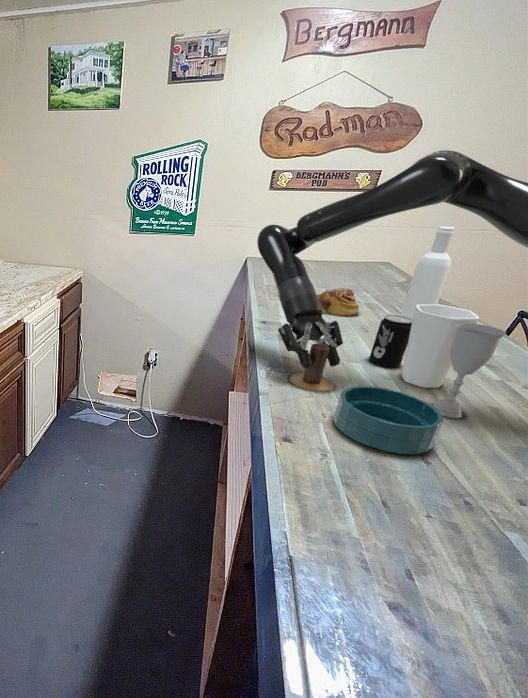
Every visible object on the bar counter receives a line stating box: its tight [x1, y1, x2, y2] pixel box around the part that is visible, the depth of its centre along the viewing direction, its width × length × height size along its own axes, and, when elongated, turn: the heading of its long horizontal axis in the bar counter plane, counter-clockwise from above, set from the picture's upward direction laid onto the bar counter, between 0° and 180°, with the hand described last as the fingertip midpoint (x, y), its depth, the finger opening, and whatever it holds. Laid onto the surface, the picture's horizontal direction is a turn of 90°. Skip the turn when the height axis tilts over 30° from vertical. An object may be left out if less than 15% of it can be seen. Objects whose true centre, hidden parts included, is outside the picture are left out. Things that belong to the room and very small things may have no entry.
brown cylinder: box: [303, 343, 330, 384], centre depth 103 cm, size 4×4×8 cm
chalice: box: [432, 323, 507, 419], centre depth 90 cm, size 7×7×18 cm
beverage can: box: [369, 314, 412, 369], centre depth 113 cm, size 7×7×12 cm
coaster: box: [289, 372, 335, 393], centre depth 105 cm, size 9×9×1 cm
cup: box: [401, 303, 480, 389], centre depth 103 cm, size 11×10×17 cm
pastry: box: [316, 287, 360, 318], centre depth 155 cm, size 13×15×8 cm
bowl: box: [332, 385, 444, 455], centre depth 85 cm, size 15×15×6 cm
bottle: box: [399, 225, 456, 320], centre depth 135 cm, size 8×8×30 cm
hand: (321, 366), depth 102 cm, fingers open, 6 cm apart
